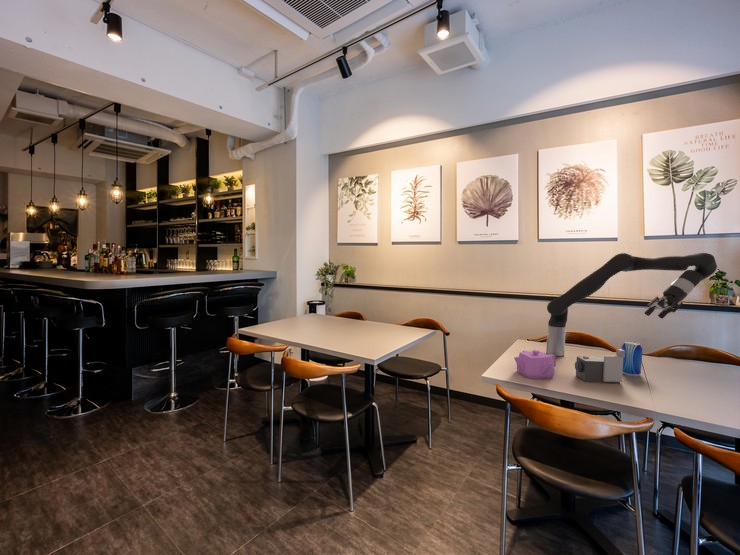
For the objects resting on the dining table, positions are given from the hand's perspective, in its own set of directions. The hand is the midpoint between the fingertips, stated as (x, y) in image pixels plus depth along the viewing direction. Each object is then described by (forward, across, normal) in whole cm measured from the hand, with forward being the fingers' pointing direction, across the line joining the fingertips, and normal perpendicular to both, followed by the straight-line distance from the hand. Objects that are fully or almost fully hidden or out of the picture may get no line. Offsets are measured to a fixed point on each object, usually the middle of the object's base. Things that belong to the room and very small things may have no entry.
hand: (652, 315), depth 162 cm
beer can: (+23, -15, +22) cm, 35 cm away
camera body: (+38, -5, +6) cm, 38 cm away
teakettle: (+56, -9, -15) cm, 59 cm away
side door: (+34, 0, +8) cm, 35 cm away
